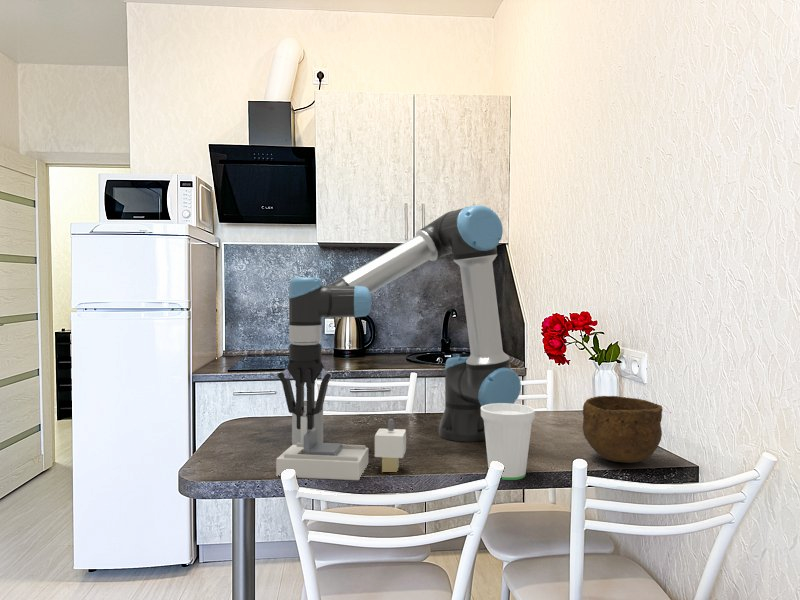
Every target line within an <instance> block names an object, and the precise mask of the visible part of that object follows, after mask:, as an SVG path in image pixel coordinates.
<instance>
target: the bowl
mask: <svg viewBox="0 0 800 600" xmlns="http://www.w3.org/2000/svg"><path fill="white" fill-rule="evenodd" d="M663 411H664V409H663V406H662V405H660V404H658V403H654V402H651V401H650V400H649V401H648V400H645V399H641V398H636V397H624V396H618V395H597V396H593V397H590V398H587V399H586V401H584V403H583V406H582V415H583V421H582V432H583V435H584V438H585V439H586V441H587V443H588V445H590V447H591V449H593V450H594V452H595V453H596V454H597V455H599V456H600V457H601V458H604V460H605V459H606V460H607V461H611V462H618V463H623V464H634V463H639V462H642V461H645V460H646V459H648V458H649V457H651V456H652V455H653V454H654V452H656V450H657V448H658V447H659V446H660V442H661V441H662V438H663V437H662V435H663V432H662V426H661V425H662V423H661V422H662V418H663Z"/></svg>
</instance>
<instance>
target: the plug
mask: <svg viewBox="0 0 800 600" xmlns="http://www.w3.org/2000/svg"><path fill="white" fill-rule="evenodd" d="M406 450H407V429H406V428H405V429H403V428H402V429H401V428H395V421H394V419H393V418H389V419H388V420H387V428H378V430H377V432H376V433H375V435H374V457H375V458H381V473H383V472H397V471H399V469H398V468H400V459H403V458H404V456H405V453H406ZM397 473H398V472H397Z"/></svg>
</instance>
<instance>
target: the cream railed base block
mask: <svg viewBox="0 0 800 600" xmlns="http://www.w3.org/2000/svg"><path fill="white" fill-rule="evenodd" d="M275 463H276V464H275V465H276V466H275V468H276V471H275V473H276V477H278V475H279V476H280V473H281V472H282V471H284V470H286V469H294V470H295V471H296V475H297V477H296V478H303V479H320V480H321V479H323V480H345V481H360V479H361V478H360V477H362V476H363V474H364V472H365V471H366V469H367V467H368V466H369V447H367V446H366V445H364V444H344V443H343V444H342V449H341V450H340V451H339V452H338V454H337V455H336V456H330V455H309V451H304V444H301V443H297V445H293V444H292V445H290V446H289V447H288V448H287V449H286V450H285V451H283V452H282V453H281V454H280V455H279V456H278V457H277V458H276V462H275ZM367 465H368V466H367ZM365 468H366V469H365ZM364 470H365V471H364ZM362 473H363V474H362ZM361 475H362V476H361Z"/></svg>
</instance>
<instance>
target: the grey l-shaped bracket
mask: <svg viewBox="0 0 800 600" xmlns="http://www.w3.org/2000/svg"><path fill="white" fill-rule="evenodd" d="M317 429H318V428H313V429H312V430H310V431H309V432H307V433H306V434H305V435H304V451H309V455H330V456H336V455H337V454H338V452H339V451H340V450H341V449H342V443H339V442H335V443H334V442H323V443H318V442H317Z"/></svg>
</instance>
